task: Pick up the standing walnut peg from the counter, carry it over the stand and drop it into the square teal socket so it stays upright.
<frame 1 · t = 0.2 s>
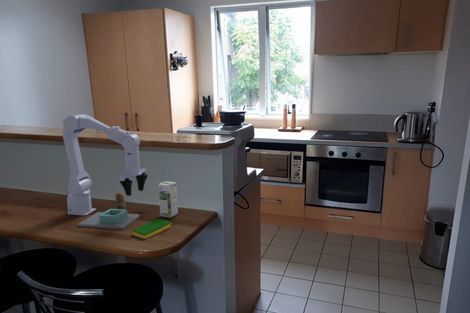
hand: (134, 192, 150), 10 cm above the countertop, tool pointing down, fingers open, 7 cm apart
walnut peg: (121, 210, 158), on the countertop
socket stand: (109, 221, 145), on the countertop
dish sponge: (152, 232, 135), on the countertop
syrup box: (169, 215, 151), on the countertop
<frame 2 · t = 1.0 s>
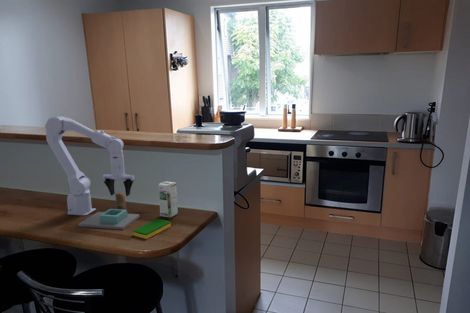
hand: (120, 195, 156), 7 cm above the countertop, tool pointing down, fingers open, 7 cm apart
nothing on the countertop moved.
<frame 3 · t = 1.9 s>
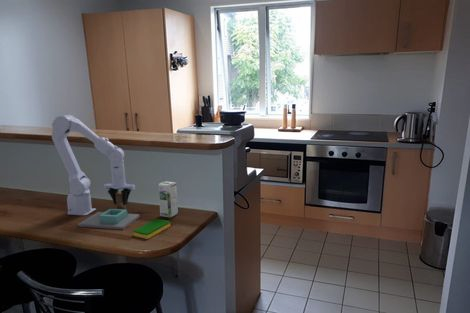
hand: (120, 204, 157), 3 cm above the countertop, tool pointing down, fingers closed on walnut peg, 4 cm apart
walnut peg: (121, 210, 157), on the countertop, touching gripper
everything else where it was.
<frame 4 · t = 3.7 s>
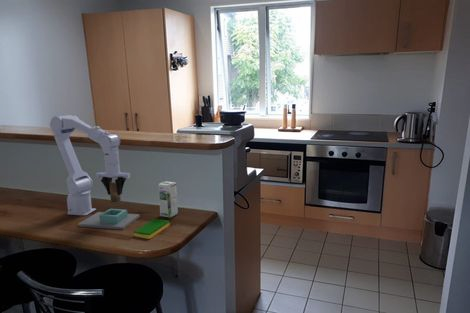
hand: (115, 194, 147), 10 cm above the countertop, tool pointing down, fingers closed on walnut peg, 4 cm apart
walnut peg: (115, 200, 148), point 8 cm above the countertop, touching gripper
everything else where it was.
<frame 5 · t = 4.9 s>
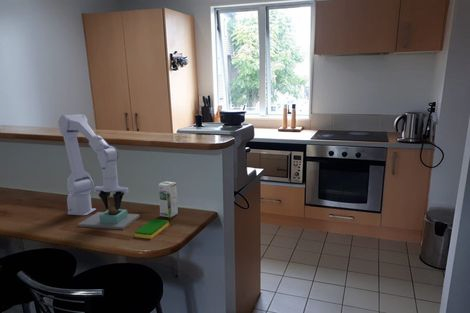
hand: (113, 208, 143), 6 cm above the countertop, tool pointing down, fingers closed on walnut peg, 4 cm apart
walnut peg: (113, 215, 144), point 3 cm above the countertop, touching gripper
when the fingers open (5 cm above the countertop, at t = 5.5 s): walnut peg stays where it is, resting on socket stand.
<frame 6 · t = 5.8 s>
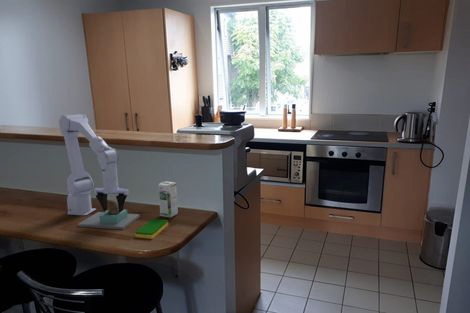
hand: (113, 210, 143), 5 cm above the countertop, tool pointing down, fingers open, 7 cm apart
walnut peg: (114, 219, 144), point 1 cm above the countertop, touching socket stand
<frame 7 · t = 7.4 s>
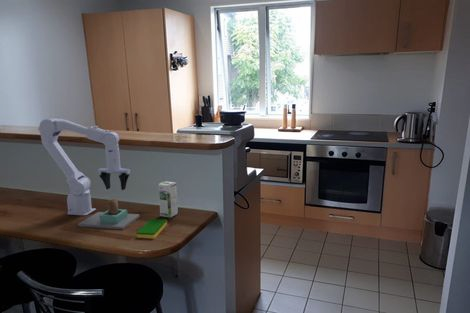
hand: (115, 189, 155), 10 cm above the countertop, tool pointing down, fingers open, 7 cm apart
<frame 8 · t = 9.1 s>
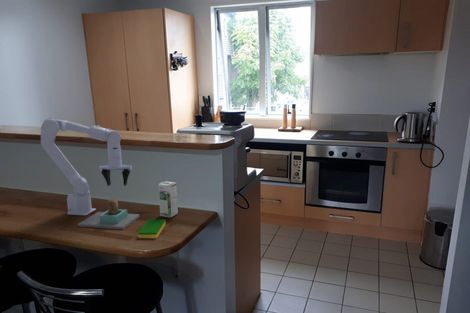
hand: (117, 185, 161), 10 cm above the countertop, tool pointing down, fingers open, 7 cm apart
at the end: walnut peg 0.1 cm from the target spot on the socket stand, point 1.0 cm above the socket stand's base; walnut peg tilted 0°; the gripper is holding nothing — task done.
